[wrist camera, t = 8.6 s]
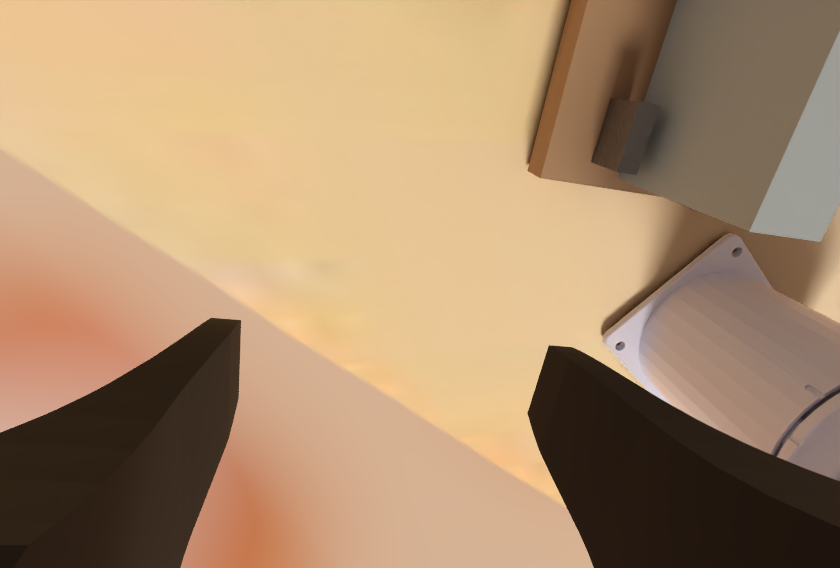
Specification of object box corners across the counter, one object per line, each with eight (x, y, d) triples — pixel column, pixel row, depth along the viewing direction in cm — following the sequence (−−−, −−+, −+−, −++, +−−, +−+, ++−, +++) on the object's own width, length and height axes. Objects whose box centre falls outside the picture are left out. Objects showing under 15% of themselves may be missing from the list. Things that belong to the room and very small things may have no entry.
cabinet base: (840, -122, 18) (881, -137, 16) (710, 199, 22) (733, 207, 21) (620, -193, 16) (645, -218, 15) (527, 170, 20) (540, 177, 19)
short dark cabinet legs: (808, -84, 17) (865, -102, 15) (703, 181, 20) (739, 192, 18) (677, -124, 16) (720, -149, 14) (591, 162, 19) (616, 171, 17)
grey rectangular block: (798, -100, 16) (1082, -205, 10) (687, 189, 20) (842, 245, 14) (718, -125, 16) (967, -254, 9) (618, 178, 20) (748, 231, 13)
